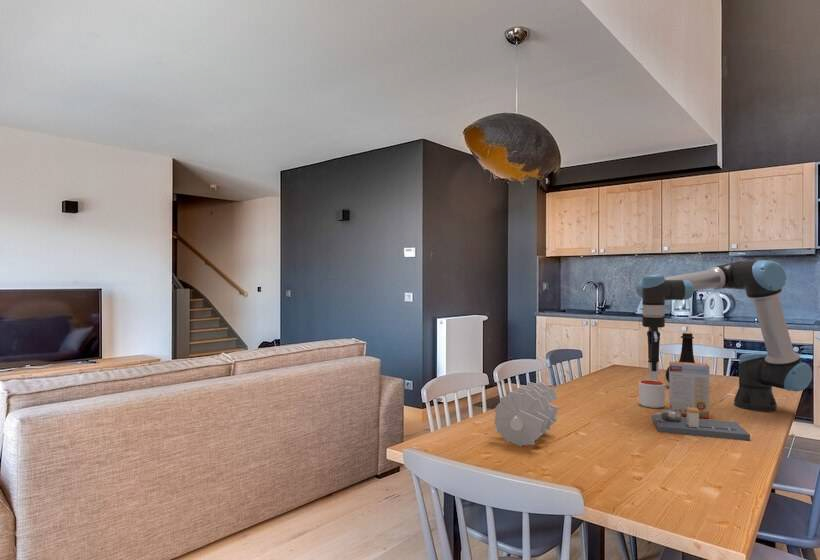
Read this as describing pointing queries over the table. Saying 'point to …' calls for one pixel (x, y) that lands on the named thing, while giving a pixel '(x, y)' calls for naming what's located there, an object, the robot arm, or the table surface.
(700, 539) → the table surface
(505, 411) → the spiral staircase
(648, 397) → the cup
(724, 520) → the table surface
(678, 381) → the cracker box
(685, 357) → the glass bottle
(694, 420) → the block
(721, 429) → the console
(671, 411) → the dial
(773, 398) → the robot arm
